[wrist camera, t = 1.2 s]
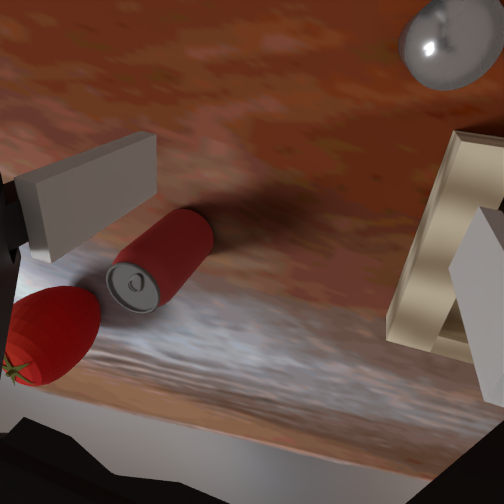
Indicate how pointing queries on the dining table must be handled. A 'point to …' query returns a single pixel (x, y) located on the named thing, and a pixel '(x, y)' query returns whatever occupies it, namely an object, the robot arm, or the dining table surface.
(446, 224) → the socket block
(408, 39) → the steel pin
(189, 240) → the beer can
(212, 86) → the dining table surface
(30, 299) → the tomato
